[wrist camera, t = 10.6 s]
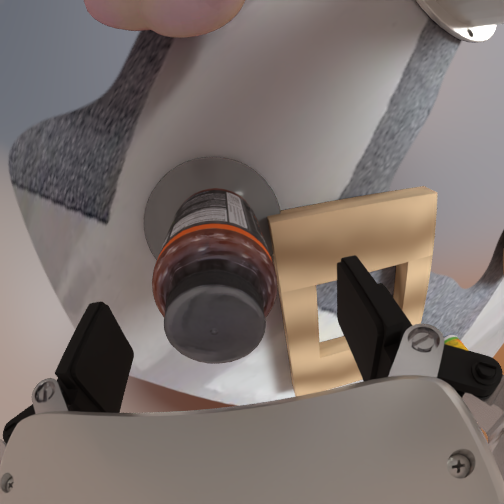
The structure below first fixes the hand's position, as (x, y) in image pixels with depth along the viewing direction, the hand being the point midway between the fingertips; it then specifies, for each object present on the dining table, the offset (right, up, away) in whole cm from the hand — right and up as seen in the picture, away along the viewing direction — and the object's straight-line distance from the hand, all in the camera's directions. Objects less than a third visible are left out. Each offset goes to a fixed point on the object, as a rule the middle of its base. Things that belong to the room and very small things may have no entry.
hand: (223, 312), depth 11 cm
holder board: (+11, -2, +15) cm, 19 cm away
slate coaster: (-2, +4, +11) cm, 11 cm away
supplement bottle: (-2, +4, +10) cm, 11 cm away
